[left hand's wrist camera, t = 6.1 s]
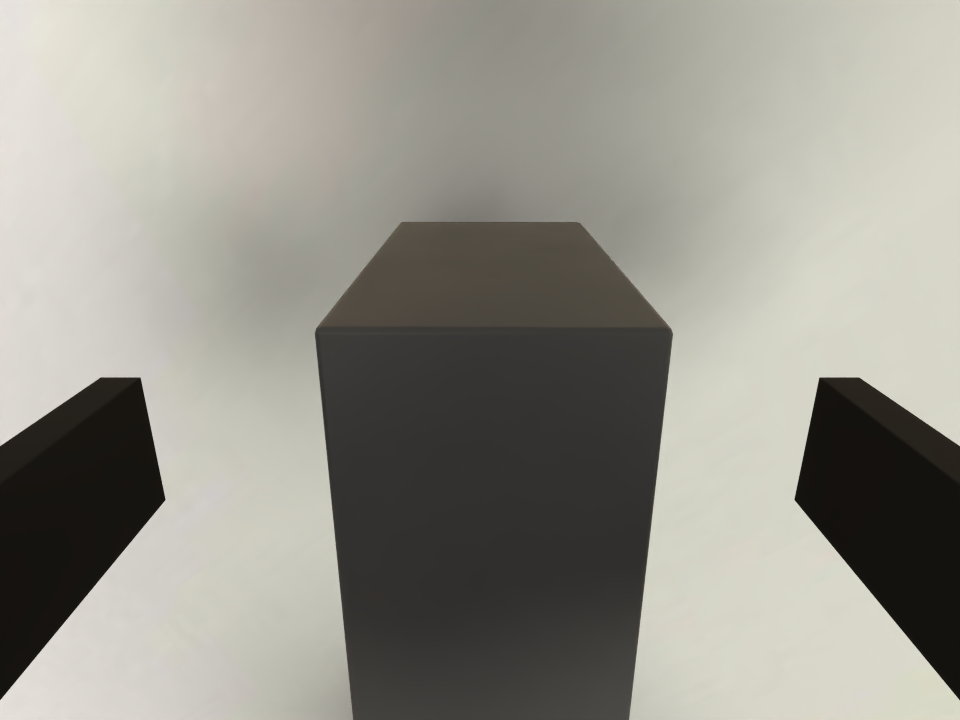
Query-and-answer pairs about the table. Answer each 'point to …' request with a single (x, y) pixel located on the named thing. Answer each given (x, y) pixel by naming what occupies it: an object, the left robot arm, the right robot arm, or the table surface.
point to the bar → (492, 472)
